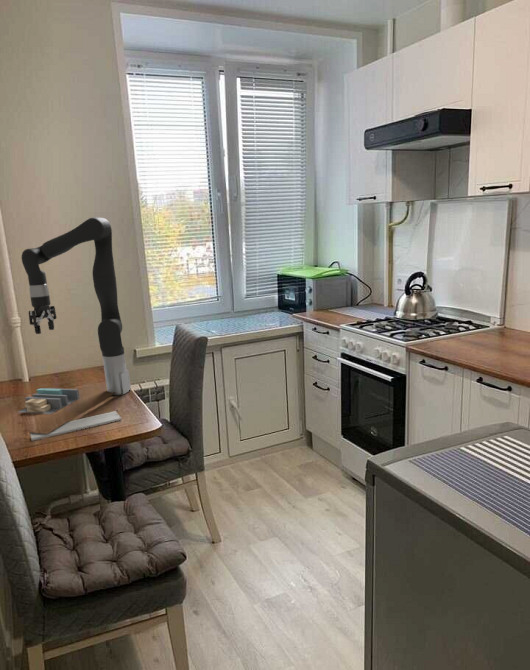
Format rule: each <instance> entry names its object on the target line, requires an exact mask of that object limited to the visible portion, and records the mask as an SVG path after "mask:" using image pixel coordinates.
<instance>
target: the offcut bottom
mask: <svg viewBox="0 0 530 670" xmlns="http://www.w3.org/2000/svg"><path fill="white" fill-rule="evenodd" d="M26 408H27V412H41V413H44V412H46V411H48V410H50V409H51V406H50V404H46V405H44V406H42V407H41V408H37V407H26Z"/></svg>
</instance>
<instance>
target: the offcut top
mask: <svg viewBox="0 0 530 670" xmlns="http://www.w3.org/2000/svg"><path fill="white" fill-rule="evenodd" d="M46 404H47V401H46V399H30V400H28V401H26V400H25V401H24V407H25V408H27V407H37V408H41V407H42V406H44V405H46Z"/></svg>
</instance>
